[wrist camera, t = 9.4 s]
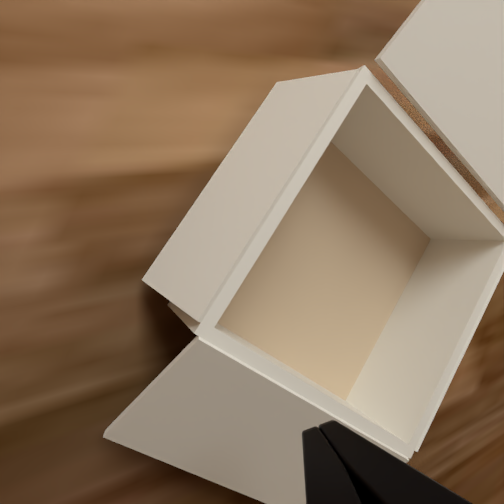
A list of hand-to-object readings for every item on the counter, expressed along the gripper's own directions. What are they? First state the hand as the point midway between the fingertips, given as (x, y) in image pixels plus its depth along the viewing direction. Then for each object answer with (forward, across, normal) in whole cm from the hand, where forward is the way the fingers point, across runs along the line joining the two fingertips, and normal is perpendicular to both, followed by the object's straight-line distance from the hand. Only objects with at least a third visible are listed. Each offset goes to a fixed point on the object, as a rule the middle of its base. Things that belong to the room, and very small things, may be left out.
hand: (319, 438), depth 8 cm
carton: (+10, +3, -3) cm, 11 cm away
